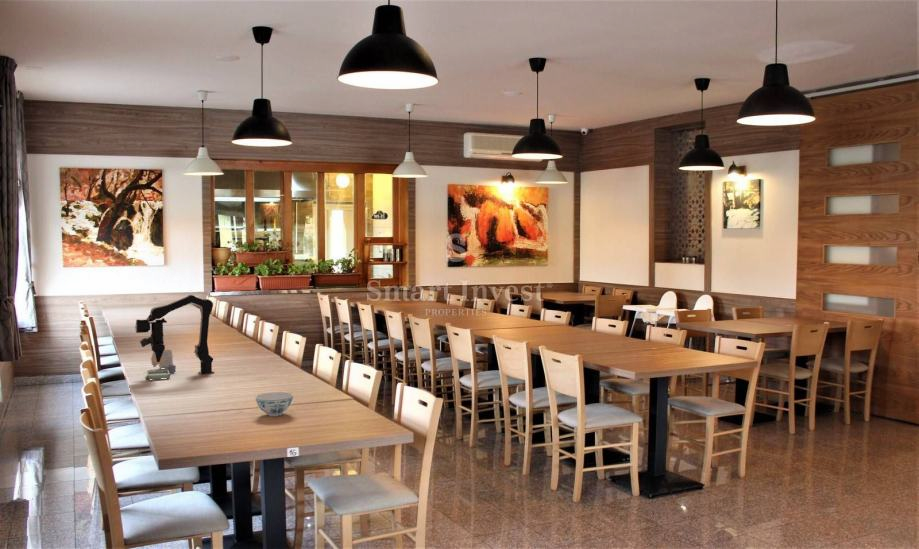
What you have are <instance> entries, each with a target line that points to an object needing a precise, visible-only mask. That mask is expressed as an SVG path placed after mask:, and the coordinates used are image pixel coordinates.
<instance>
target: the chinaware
mask: <svg viewBox="0 0 919 549" xmlns="http://www.w3.org/2000/svg"><path fill="white" fill-rule="evenodd" d="M293 398H294V394H293V393H291V392H286V391H285V392H283V391H276V392H274V391H272V392H271V391H270V392H265V393H260V394H257V395H255V401H256V404H257V406H258V407H259V409H260V410H261V411H262V412H264V413H265V415H266V416H267V415H269V416H268V417H278V415H280V416H282V414H283V415H284V412H286V410H288V409H289V407H290V406H291V404H292V402H293Z"/></svg>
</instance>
